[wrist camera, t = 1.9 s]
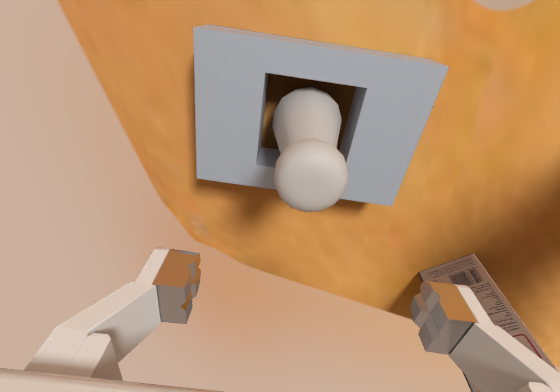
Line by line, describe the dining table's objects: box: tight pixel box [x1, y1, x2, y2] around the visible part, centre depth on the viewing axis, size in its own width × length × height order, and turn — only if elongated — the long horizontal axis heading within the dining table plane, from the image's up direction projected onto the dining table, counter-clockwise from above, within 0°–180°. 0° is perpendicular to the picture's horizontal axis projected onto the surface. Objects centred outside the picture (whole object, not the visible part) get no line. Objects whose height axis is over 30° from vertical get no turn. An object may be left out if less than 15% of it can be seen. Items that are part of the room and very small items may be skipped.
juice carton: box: [418, 253, 558, 392], centre depth 28 cm, size 7×7×22 cm
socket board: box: [193, 24, 449, 206], centre depth 26 cm, size 18×12×4 cm, turn 82°
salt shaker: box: [272, 87, 348, 212], centre depth 22 cm, size 6×6×13 cm
